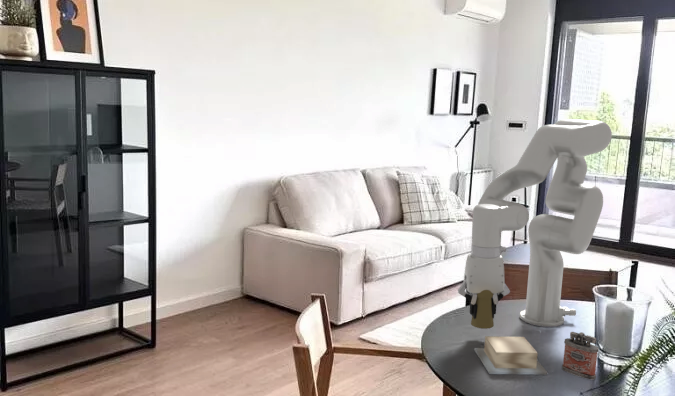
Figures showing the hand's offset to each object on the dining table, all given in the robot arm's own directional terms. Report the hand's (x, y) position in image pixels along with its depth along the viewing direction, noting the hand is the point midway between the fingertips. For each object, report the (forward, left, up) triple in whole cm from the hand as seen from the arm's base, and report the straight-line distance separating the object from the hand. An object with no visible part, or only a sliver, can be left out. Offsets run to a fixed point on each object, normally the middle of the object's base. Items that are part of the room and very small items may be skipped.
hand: (482, 316), depth 170 cm
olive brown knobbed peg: (0, 0, -3) cm, 3 cm away
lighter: (-18, +21, -7) cm, 28 cm away
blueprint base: (-3, +14, -6) cm, 16 cm away
